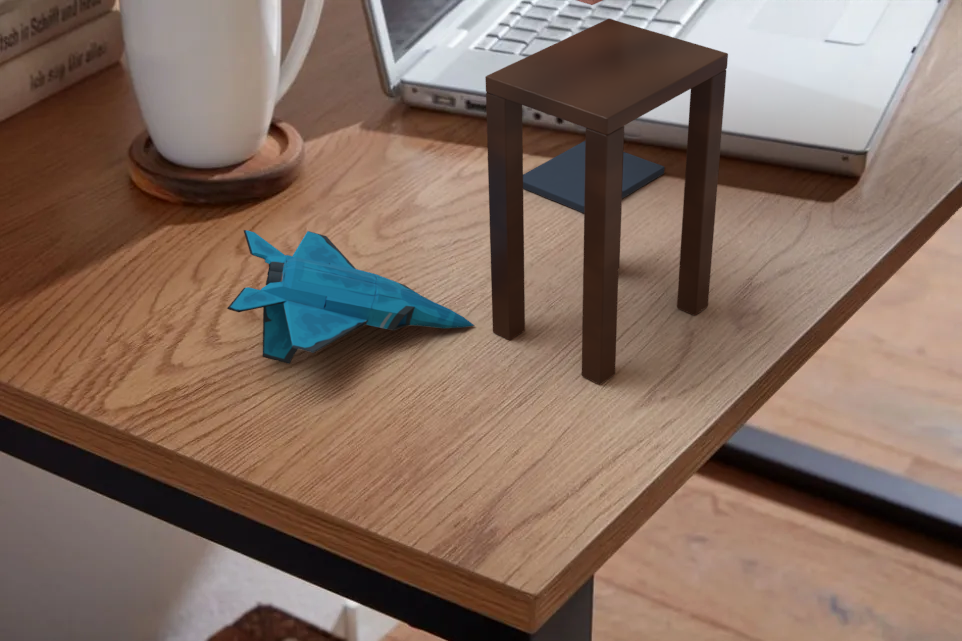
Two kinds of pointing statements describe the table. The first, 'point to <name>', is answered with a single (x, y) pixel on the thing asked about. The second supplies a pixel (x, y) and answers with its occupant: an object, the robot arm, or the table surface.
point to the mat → (583, 177)
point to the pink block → (590, 1)
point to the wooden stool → (603, 164)
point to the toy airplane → (328, 299)
